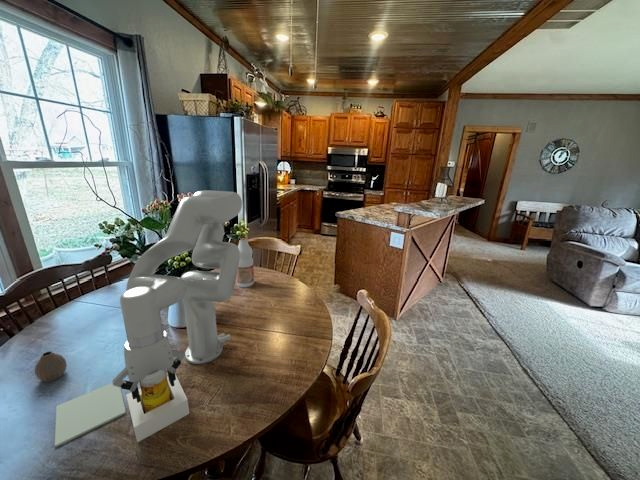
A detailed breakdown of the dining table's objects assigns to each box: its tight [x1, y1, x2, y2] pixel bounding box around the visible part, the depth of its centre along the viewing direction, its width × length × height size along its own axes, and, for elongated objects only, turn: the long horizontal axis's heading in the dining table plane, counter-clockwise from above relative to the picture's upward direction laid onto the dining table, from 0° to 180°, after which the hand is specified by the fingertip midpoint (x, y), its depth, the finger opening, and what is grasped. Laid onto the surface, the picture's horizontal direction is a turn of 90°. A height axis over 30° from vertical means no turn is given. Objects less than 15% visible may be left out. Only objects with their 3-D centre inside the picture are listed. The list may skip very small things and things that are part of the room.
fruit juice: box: [236, 235, 255, 288], centre depth 146 cm, size 9×9×28 cm
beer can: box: [139, 369, 172, 414], centre depth 72 cm, size 6×6×15 cm
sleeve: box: [125, 373, 190, 443], centre depth 73 cm, size 12×12×5 cm
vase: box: [34, 350, 68, 383], centre depth 83 cm, size 7×7×9 cm
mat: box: [54, 382, 126, 448], centre depth 74 cm, size 14×14×1 cm
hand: (155, 390), depth 72 cm, fingers open, 7 cm apart
